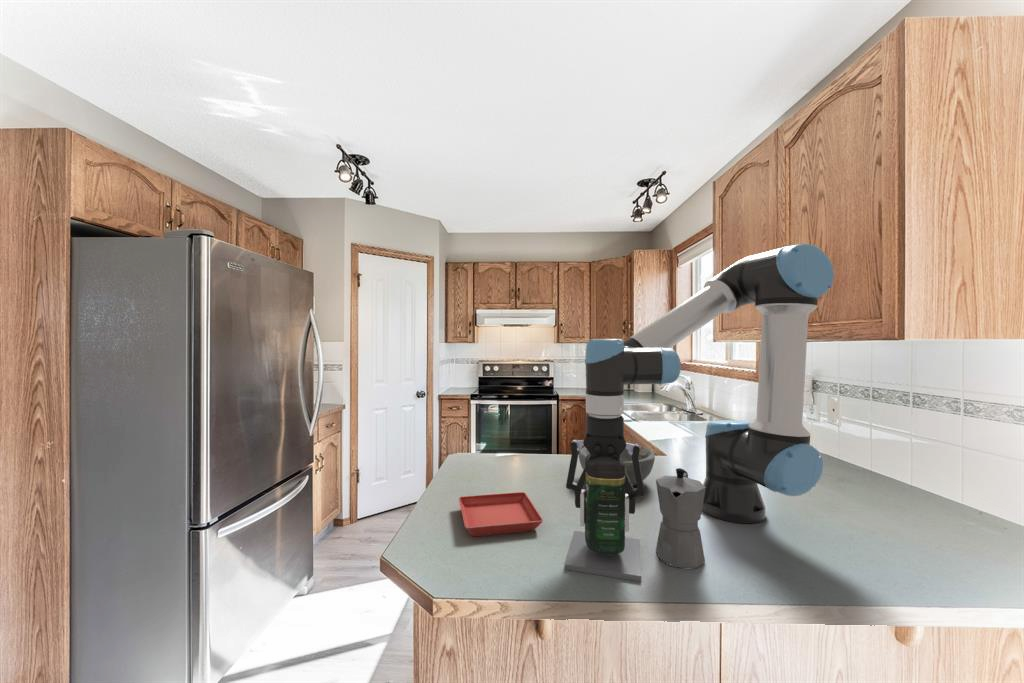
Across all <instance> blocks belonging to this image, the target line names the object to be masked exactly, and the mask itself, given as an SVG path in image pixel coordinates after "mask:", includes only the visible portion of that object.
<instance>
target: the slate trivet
mask: <svg viewBox="0 0 1024 683" xmlns="http://www.w3.org/2000/svg"><path fill="white" fill-rule="evenodd" d="M640 541H641V540H640V539H639V538H632V537H625V549H624V551H623V552H622V553H618V554H613V555H603V554H600V553H597V552H594V551H591V550H590V549H589V548H588V547H587V545H586V541H585V531H577V530H574V531H573V535H572V538H571V542H570V545H569V550H568V552H567V556H566V559H565V562H564V570H566V571H571V572H578V573H585V574H591V575H598V576H603V577H609V578H615V579H623V580H629V581H635V582H636V581H637V582H642V564H641V563H642V562H641V561H642V560H641V546H640V545H641V544H640Z"/></svg>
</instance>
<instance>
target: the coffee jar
mask: <svg viewBox="0 0 1024 683" xmlns="http://www.w3.org/2000/svg"><path fill="white" fill-rule="evenodd" d="M589 457H590V454H588V455H587V456H586V459H585V466H586V481H585V483H584V490H585V525H584V532H585V541H586V545H587V547H588V548H589V549H590V550H591V551H594V552H597V553H600V554H603V555H613V554H618V553H622V552H623V551H624V549H625V538H626V531H625V494H626V489H625V464H624V462H623V460H622V458H621V457H620V458H621V460H620V462H619V461H617V460H615V459H613V458H611V457H610V456H606V455H601V456H598V457H597V458H595V459H592V460H589ZM588 460H589V461H588Z"/></svg>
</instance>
